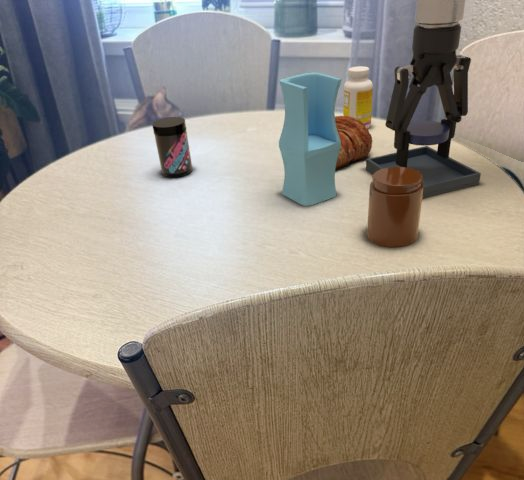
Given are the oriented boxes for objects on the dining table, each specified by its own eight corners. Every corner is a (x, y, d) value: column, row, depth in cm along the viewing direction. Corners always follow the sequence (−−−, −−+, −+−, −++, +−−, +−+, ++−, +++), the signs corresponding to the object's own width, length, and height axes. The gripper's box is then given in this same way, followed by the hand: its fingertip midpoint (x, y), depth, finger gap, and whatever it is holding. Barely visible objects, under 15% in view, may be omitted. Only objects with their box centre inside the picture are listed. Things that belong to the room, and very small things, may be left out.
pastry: (390, 163, 110) (393, 123, 105) (319, 175, 108) (319, 135, 102) (359, 138, 122) (361, 101, 117) (295, 148, 120) (294, 111, 115)
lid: (392, 135, 101) (392, 126, 100) (430, 127, 103) (431, 118, 102) (417, 148, 95) (418, 139, 94) (457, 139, 97) (459, 130, 96)
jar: (427, 239, 84) (435, 179, 78) (382, 251, 83) (387, 190, 76) (400, 219, 90) (405, 162, 84) (358, 230, 88) (360, 172, 82)
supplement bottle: (375, 124, 129) (378, 65, 121) (363, 132, 125) (366, 73, 117) (350, 121, 132) (351, 64, 124) (338, 129, 128) (339, 71, 120)
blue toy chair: (305, 207, 97) (302, 88, 84) (281, 193, 102) (275, 80, 89) (339, 195, 100) (342, 78, 87) (314, 182, 105) (313, 71, 92)
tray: (479, 184, 99) (481, 173, 97) (412, 200, 96) (413, 189, 94) (425, 155, 111) (427, 145, 110) (365, 169, 108) (366, 159, 107)
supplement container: (158, 179, 112) (148, 128, 106) (165, 167, 118) (155, 117, 111) (190, 177, 112) (182, 126, 105) (195, 165, 117) (187, 115, 110)
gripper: (477, 12, 92) (457, 144, 107) (368, 29, 88) (363, 165, 102) (507, 17, 87) (481, 156, 101) (393, 36, 82) (383, 179, 96)
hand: (422, 160), depth 102 cm, fingers closed on lid, 8 cm apart
